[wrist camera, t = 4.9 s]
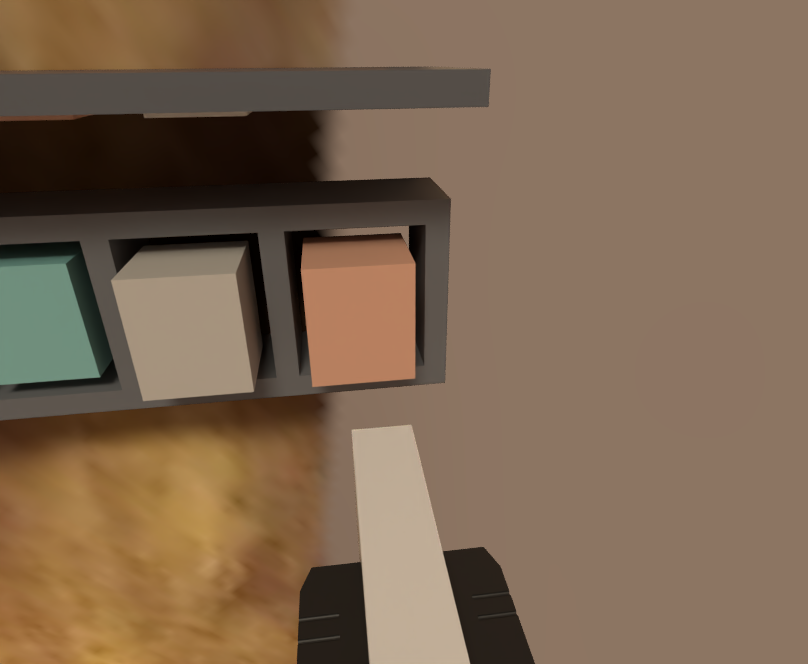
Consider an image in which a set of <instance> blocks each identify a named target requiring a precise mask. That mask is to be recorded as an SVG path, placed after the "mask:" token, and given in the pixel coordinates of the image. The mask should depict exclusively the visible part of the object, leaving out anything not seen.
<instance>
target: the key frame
mask: <svg viewBox="0 0 808 664" xmlns="http://www.w3.org/2000/svg"><path fill="white" fill-rule="evenodd" d="M450 207H451V199H450V198H449V197H448V196H447V195H446V194H445V193H444V192H443V191H442V190H441V189H440V187H439V186H438V185H437V184H436V183H435V182H433V180H432V179H431V178H403V179H376V180H347V181H319V182H292V183H264V184H236V185H208V186H180V187H153V188H125V189H97V190H69V191H41V192H14V193H0V245H6V244H27V243H48V242H70V241H80V244H81V248H82V251H83V255H84V258H85V262H86V265H87V269H88V272H89V276H90V279H91V283H92V286H93V290H94V293H95V297H96V300H97V304H98V307H99V311H100V314H101V318H102V321H103V325H104V328H105V332H106V335H107V339H108V342H109V346H110V349H111V353H112V356H113V359H112V361H111V362H110V364H109V365H108V367H107V368H106V369H105V371H104V372H103V374H102V375H101V377H97V378H84V379H71V380H58V381H45V382H32V383H19V384H6V385H0V420H11V419H22V418H34V417H46V416H58V415H70V414H81V413H93V412H105V411H117V410H129V409H140V408H152V407H164V406H176V405H188V404H200V403H211V402H223V401H235V400H247V399H259V398H270V397H282V396H294V395H306V394H318V393H329V392H341V391H353V390H365V389H377V388H388V387H400V386H412V385H423V384H435V383H445V367H446V334H447V304H448V271H449V237H450ZM386 226H387V227H388V226H409V251H410V253H411V255H412V257H413V259H414V261H415V379H403V380H391V381H379V382H367V383H355V384H343V385H331V386H319V387H312V377H311V367H310V357H309V347H308V336H307V331H302V327H301V317H300V308H299V298H298V288H297V279H296V269H295V259H294V250H293V240H292V231H303V230H325V229H346V228H367V227H386ZM240 233H258V240H259V248H260V255H261V263H262V270H263V278H264V285H265V293H266V300H267V308H268V316H269V323H270V331H271V334H261V335H262V343H263V347H262V353H261V358H260V363H259V368H258V374H257V379H256V384H255V390H254V392H247V393H235V394H223V395H211V396H199V397H187V398H174V399H162V400H150V401H143V398H142V394H141V391H140V387H139V383H138V380H137V376H136V372H135V368H134V365H133V361H132V357H131V353H130V350H129V346H128V342H127V339H126V335H125V331H124V327H123V324H122V320H121V316H120V312H119V309H118V305H117V301H116V298H115V294H114V290H113V286H112V283H111V280H112V279H113V278H114V277H115V276H116V275H117V273H118V272H119V271H120V270H121V269H122V268H123V267H124V266H125V265H126V264H127V263H128V262H129V261H130V260H131V259H132V258H133V256H134V255H135V254H136V253H137V252H138V251H139V250H140V249H141V248H142V247H143V246H148V245H150V243H149V239H148V238H155V237H176V236H197V235H218V234H240Z"/></svg>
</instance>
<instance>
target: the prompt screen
mask: <svg viewBox="0 0 808 664" xmlns="http://www.w3.org/2000/svg"><path fill="white" fill-rule="evenodd" d="M490 72H491V70H490V69H477V68H453V67H452V68H450V67H345V68H243V69H141V70H39V71H0V121H27V120H73V119H78V118H82V117H86V116H90V115H96V114H143V115H144V118H173V117H221V116H247V115H249V114H250V113H251V112H252V111H301V110H352V109H400V108H451V107H453V108H454V107H488V106H489V88H490Z"/></svg>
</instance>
